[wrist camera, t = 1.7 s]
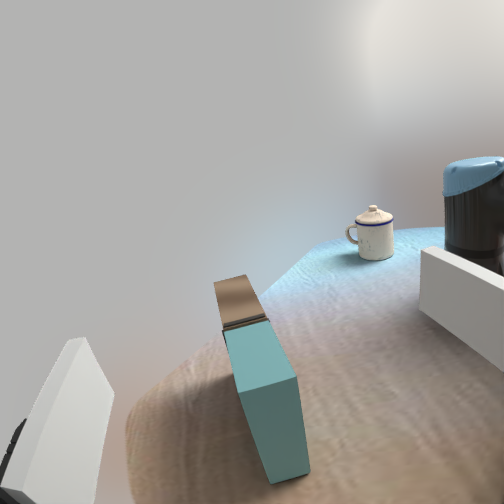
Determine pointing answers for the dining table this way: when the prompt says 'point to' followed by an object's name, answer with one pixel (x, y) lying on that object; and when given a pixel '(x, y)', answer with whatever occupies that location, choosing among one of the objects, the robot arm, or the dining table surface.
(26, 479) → the robot arm
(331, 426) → the dining table surface
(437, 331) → the dining table surface
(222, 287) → the brown wooden block
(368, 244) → the teacup with lid
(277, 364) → the teal rectangular block
